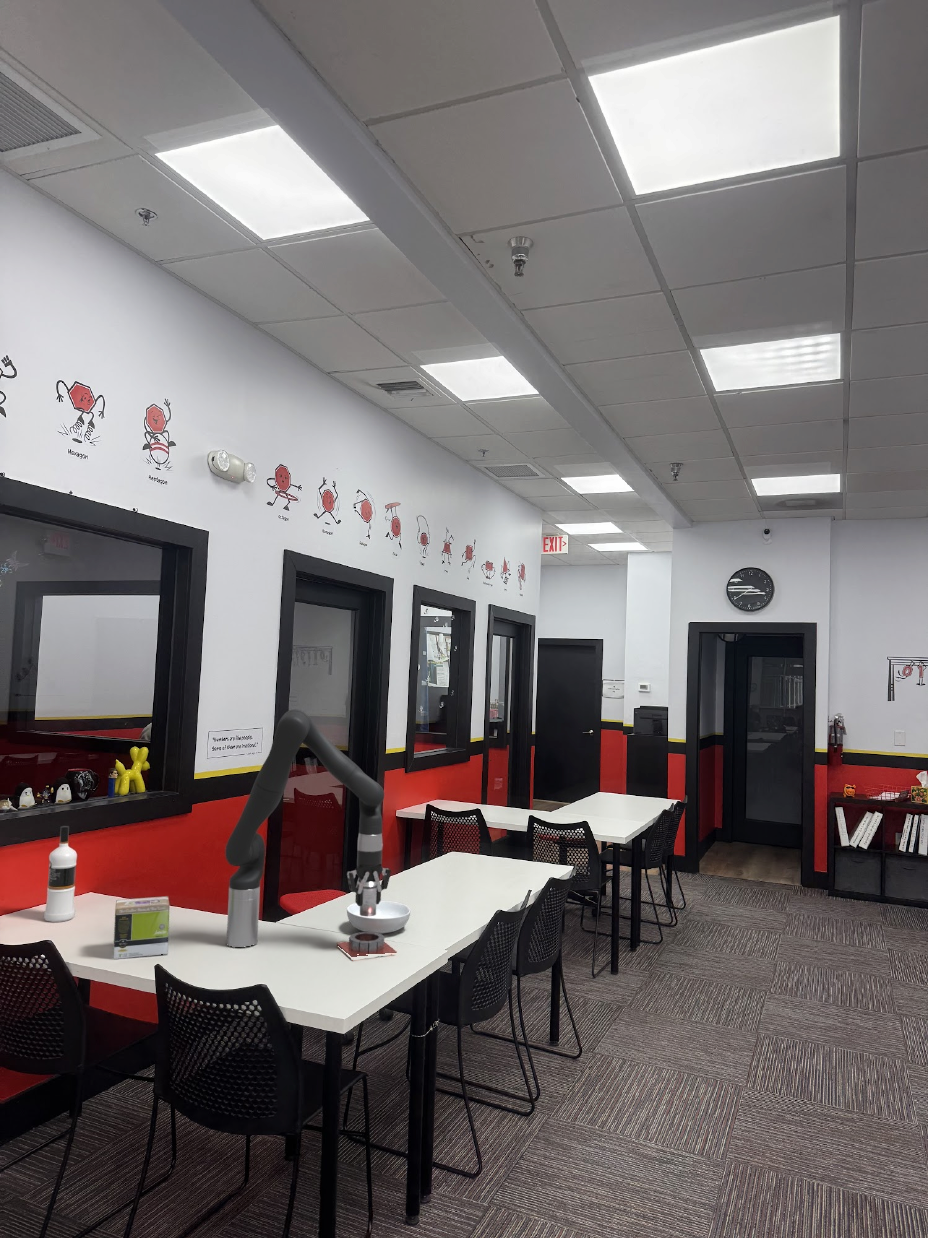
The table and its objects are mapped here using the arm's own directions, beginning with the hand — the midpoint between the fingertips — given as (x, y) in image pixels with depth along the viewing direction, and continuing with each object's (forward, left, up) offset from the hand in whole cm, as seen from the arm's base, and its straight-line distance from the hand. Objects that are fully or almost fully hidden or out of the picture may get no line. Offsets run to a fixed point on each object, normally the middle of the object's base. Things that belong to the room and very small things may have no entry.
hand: (367, 904), depth 260 cm
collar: (0, 0, -14) cm, 14 cm away
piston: (0, 0, -3) cm, 3 cm away
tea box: (-23, -62, -14) cm, 68 cm away
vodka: (-66, -82, -14) cm, 106 cm away
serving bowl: (-18, +11, -14) cm, 26 cm away
